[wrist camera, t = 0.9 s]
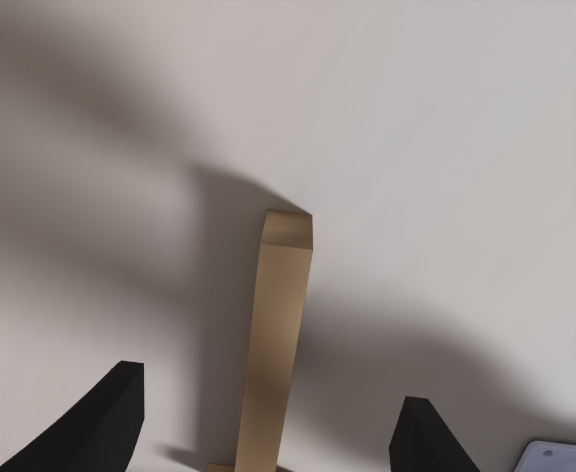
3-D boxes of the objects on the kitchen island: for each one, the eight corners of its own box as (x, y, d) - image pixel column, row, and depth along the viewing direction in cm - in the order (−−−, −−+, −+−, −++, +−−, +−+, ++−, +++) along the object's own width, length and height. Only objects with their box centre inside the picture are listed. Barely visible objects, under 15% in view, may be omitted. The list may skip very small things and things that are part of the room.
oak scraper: (352, 219, 20) (360, 256, 17) (297, 484, 28) (296, 543, 24) (227, 203, 20) (212, 237, 17) (207, 473, 27) (194, 531, 24)
